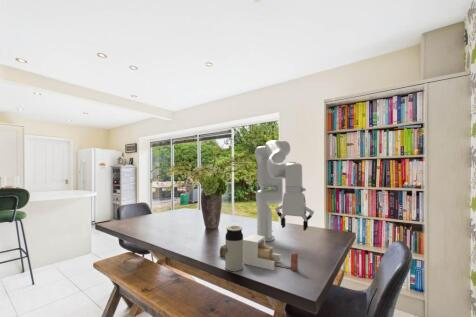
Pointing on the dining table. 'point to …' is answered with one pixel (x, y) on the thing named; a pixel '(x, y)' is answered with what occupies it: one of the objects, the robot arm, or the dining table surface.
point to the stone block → (222, 251)
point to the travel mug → (234, 248)
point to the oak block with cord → (267, 254)
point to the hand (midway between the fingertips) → (294, 228)
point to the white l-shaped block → (252, 253)
